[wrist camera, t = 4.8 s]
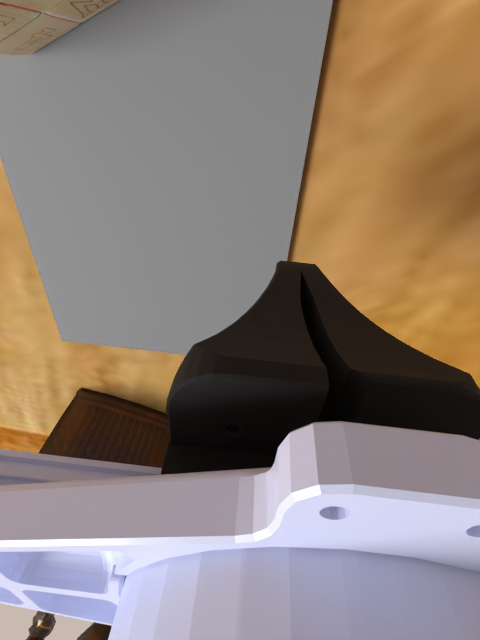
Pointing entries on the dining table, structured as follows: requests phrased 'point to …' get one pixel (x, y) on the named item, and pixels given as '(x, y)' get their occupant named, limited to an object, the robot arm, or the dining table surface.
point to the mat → (162, 162)
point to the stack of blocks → (41, 21)
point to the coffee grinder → (104, 456)
